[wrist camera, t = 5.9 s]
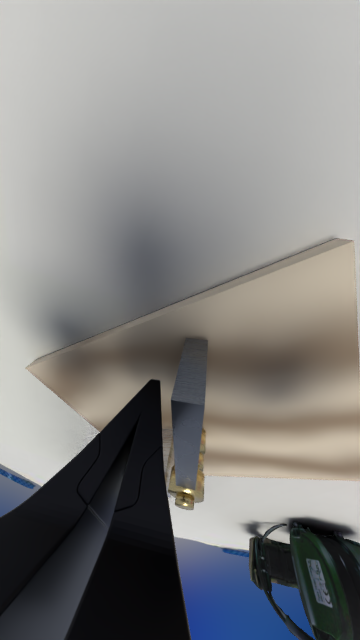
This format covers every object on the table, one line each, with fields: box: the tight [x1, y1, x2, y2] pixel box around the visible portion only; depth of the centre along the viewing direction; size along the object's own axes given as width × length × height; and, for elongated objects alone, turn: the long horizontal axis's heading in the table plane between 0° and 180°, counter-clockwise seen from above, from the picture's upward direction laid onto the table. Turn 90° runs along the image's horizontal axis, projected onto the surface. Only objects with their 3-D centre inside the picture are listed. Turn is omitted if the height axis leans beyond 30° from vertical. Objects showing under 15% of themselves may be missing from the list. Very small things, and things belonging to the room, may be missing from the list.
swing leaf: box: [171, 338, 208, 490], centre depth 10 cm, size 11×2×4 cm, turn 0°
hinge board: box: [26, 238, 360, 481], centre depth 14 cm, size 20×22×1 cm
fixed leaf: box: [162, 428, 206, 510], centre depth 14 cm, size 11×2×4 cm, turn 117°
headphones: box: [249, 522, 360, 640], centre depth 23 cm, size 13×13×20 cm
